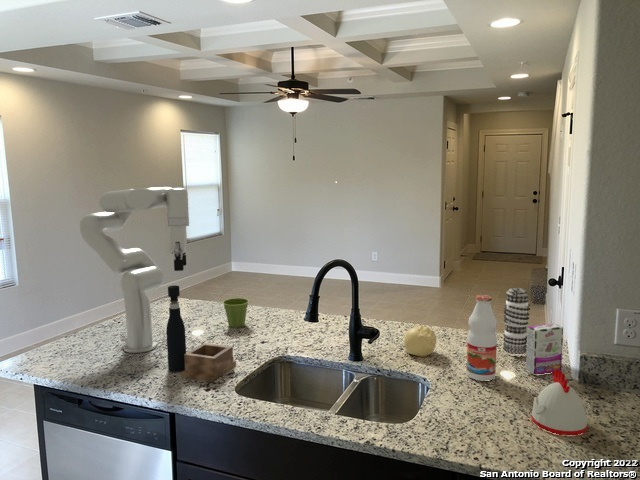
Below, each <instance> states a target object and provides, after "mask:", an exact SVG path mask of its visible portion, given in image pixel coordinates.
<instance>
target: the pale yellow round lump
mask: <svg viewBox="0 0 640 480" xmlns="http://www.w3.org/2000/svg"><path fill="white" fill-rule="evenodd" d="M436 339H437V337H436V334H435V330H433V329H432V328H430V327H427V326H425V325H421V324H420V325H419V326H414V327H412V328H410V329H408V330H407V332H406V333H405V335H404V338H403V345H404V348H405V351H406V352H407V353H408V354H409V355H413V356H418V357H427V355H428V356H429V355H430V354H432V353H434V350H435V348H436V344H437V340H436Z"/></svg>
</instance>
